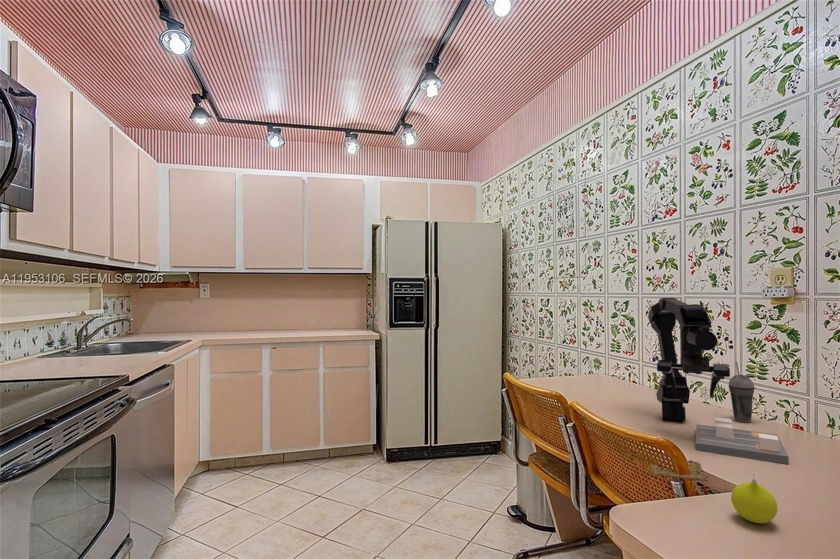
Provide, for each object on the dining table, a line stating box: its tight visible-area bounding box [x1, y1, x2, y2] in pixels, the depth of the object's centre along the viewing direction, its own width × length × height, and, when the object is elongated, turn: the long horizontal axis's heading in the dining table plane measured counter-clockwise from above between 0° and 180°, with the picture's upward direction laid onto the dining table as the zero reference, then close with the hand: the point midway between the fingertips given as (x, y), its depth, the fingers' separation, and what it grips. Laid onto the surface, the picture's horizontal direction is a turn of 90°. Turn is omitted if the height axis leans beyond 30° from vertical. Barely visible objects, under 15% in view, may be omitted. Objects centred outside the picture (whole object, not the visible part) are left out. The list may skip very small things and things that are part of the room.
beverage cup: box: [728, 361, 756, 424], centre depth 147 cm, size 7×7×20 cm
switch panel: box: [695, 423, 790, 465], centre depth 124 cm, size 20×20×2 cm
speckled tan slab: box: [649, 460, 710, 482], centre depth 109 cm, size 12×12×1 cm
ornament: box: [730, 473, 778, 524], centre depth 84 cm, size 7×7×10 cm
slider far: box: [714, 417, 733, 426], centre depth 131 cm, size 4×4×3 cm
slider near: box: [758, 433, 780, 452], centre depth 116 cm, size 4×4×3 cm
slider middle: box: [715, 423, 734, 439], centre depth 126 cm, size 4×4×3 cm
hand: (692, 395), depth 133 cm, fingers open, 9 cm apart
